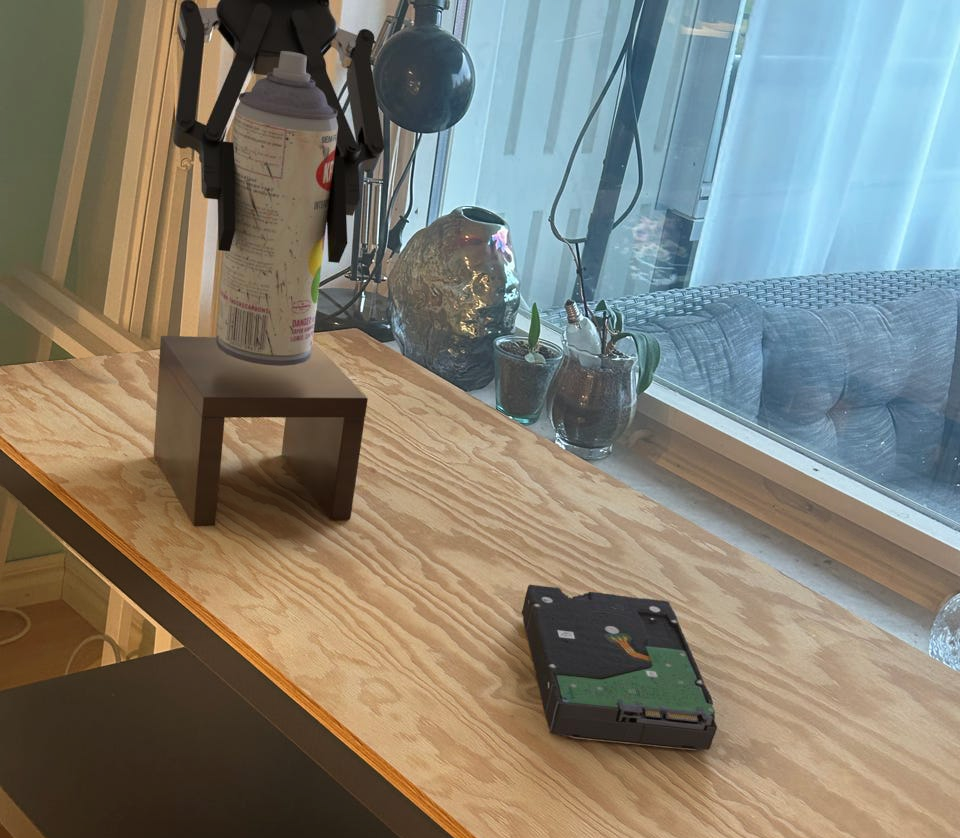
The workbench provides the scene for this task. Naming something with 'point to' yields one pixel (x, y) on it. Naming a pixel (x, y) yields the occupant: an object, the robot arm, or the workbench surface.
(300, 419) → the shelf
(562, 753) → the workbench surface
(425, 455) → the workbench surface
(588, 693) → the disk drive
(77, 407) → the workbench surface
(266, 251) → the aerosol can
